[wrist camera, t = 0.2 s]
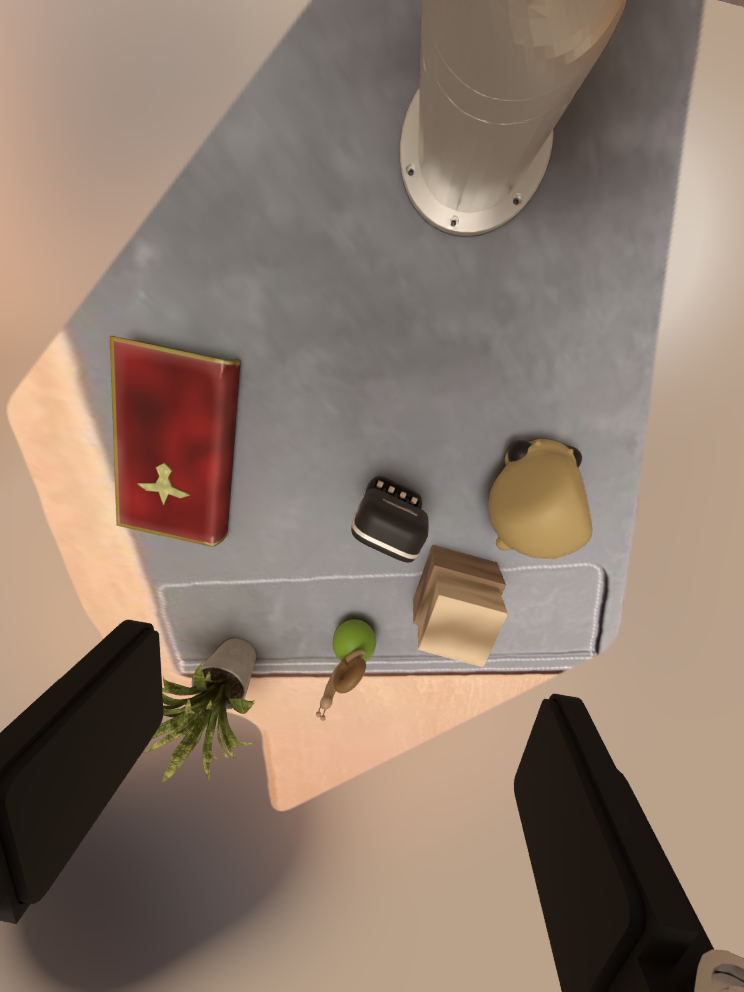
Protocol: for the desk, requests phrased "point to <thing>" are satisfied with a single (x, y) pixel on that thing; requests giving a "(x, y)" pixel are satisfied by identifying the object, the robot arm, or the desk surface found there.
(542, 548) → the toy pig
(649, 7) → the desk surface
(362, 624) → the snail figurine
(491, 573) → the walnut block
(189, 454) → the hardcover book
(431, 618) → the oak block
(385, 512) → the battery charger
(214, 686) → the house plant
